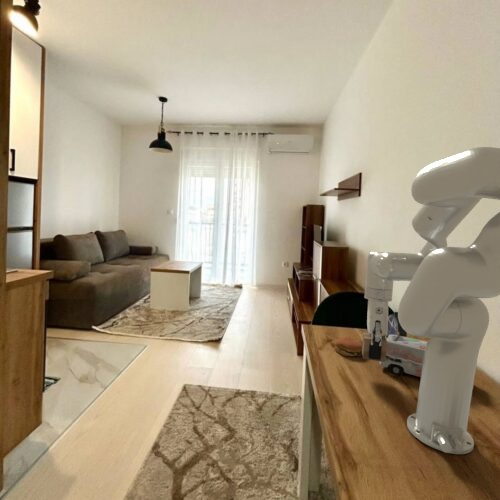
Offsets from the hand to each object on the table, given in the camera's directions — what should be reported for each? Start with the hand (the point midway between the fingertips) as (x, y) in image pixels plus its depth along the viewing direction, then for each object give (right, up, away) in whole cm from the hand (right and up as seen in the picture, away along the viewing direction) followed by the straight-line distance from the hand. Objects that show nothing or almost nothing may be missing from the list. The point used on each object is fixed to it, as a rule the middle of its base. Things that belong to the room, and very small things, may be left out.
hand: (373, 354), depth 95 cm
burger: (-1, -6, +19) cm, 20 cm away
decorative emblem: (+15, -6, +22) cm, 28 cm away
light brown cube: (0, -1, 0) cm, 1 cm away
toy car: (+17, -8, +5) cm, 20 cm away
